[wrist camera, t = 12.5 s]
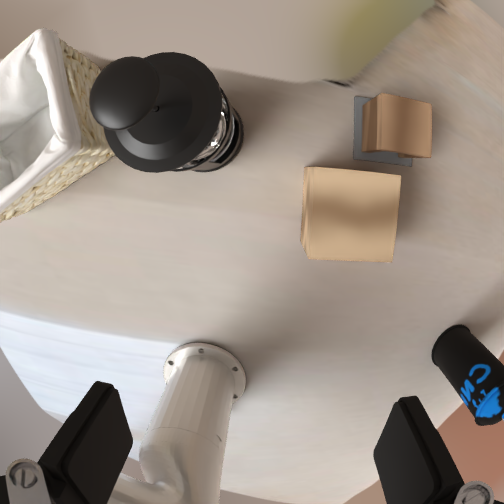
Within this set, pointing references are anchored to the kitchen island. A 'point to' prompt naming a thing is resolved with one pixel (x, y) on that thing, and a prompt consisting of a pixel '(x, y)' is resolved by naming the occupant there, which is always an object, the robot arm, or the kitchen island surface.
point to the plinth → (349, 214)
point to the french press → (165, 114)
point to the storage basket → (45, 122)
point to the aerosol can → (472, 373)
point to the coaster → (357, 154)
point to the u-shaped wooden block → (397, 126)
